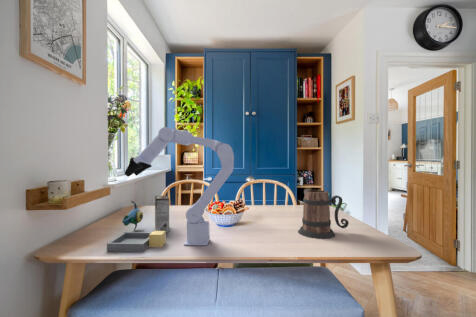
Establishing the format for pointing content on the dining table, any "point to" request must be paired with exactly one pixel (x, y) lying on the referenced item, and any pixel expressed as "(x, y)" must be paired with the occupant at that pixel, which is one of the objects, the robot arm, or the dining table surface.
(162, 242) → the mustard block
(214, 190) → the robot arm
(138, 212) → the blue bird figurine
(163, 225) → the coffee box
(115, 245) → the tray
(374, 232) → the dining table surface
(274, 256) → the dining table surface
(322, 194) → the tankard
